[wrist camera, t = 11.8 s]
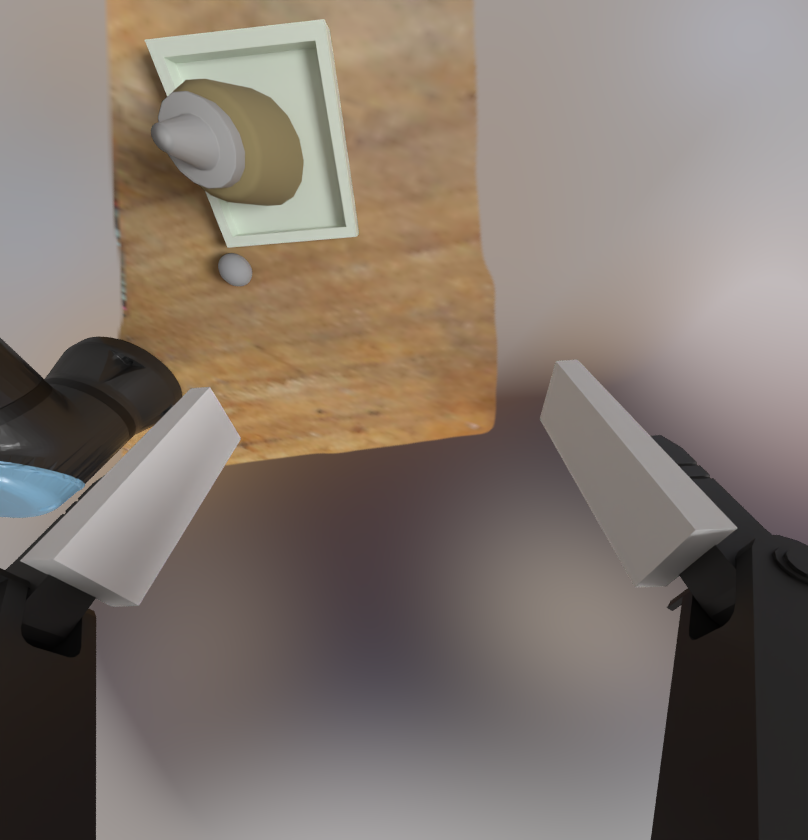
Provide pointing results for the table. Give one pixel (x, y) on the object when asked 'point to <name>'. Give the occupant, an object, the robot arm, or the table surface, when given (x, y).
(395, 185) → the table surface
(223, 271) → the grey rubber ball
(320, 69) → the tray
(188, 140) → the squeeze bottle
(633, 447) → the robot arm
